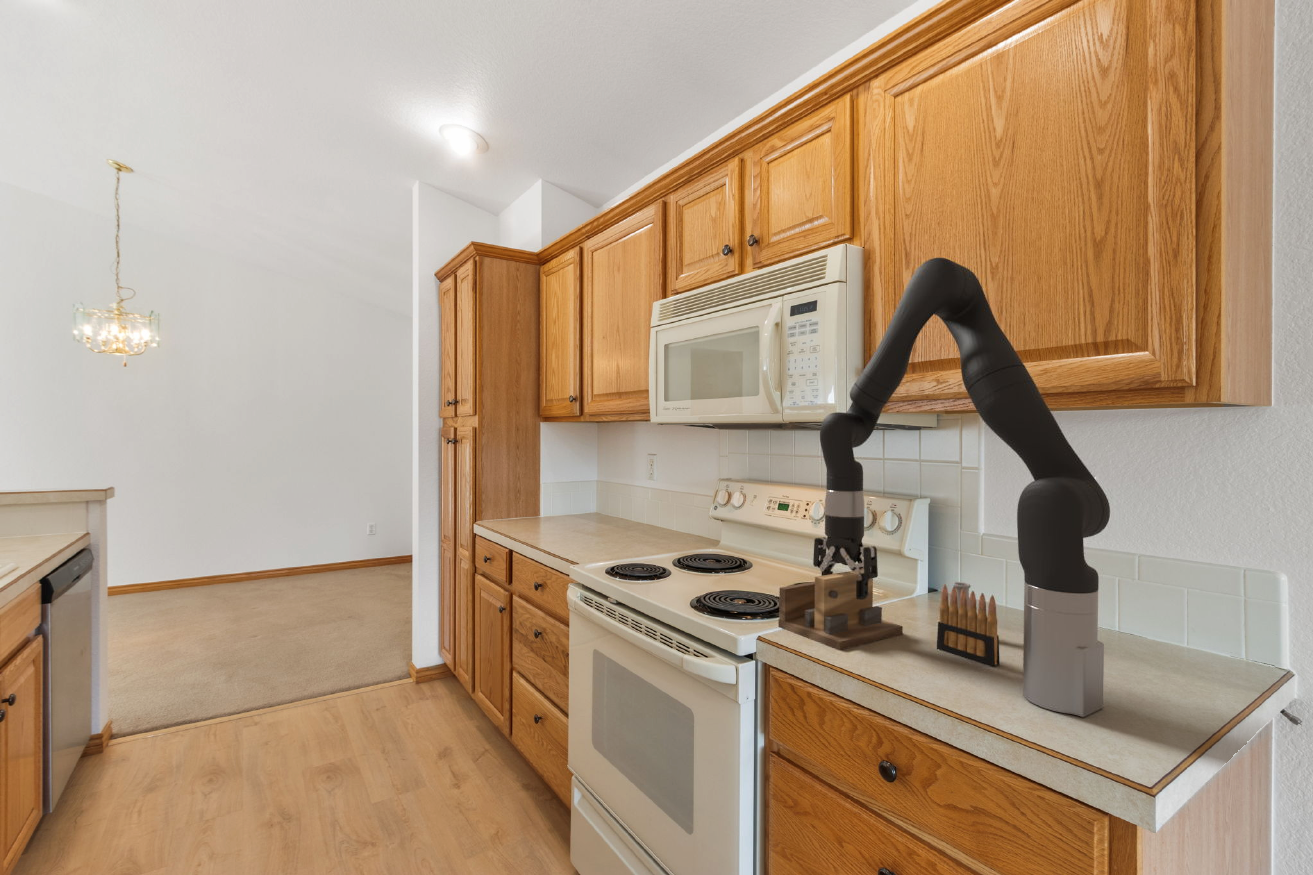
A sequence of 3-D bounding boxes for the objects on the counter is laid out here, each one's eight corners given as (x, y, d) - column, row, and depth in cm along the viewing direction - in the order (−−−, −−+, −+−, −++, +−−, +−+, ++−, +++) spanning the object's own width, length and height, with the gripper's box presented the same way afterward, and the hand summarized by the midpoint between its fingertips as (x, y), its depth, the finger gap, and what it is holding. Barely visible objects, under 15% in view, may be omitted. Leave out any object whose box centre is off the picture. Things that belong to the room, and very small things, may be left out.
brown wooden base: (902, 633, 124) (903, 593, 124) (839, 650, 114) (839, 606, 114) (839, 613, 137) (839, 576, 137) (778, 626, 128) (778, 587, 128)
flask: (977, 642, 119) (978, 590, 119) (936, 635, 123) (937, 584, 123) (984, 633, 125) (985, 583, 124) (945, 626, 129) (946, 577, 129)
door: (876, 621, 126) (877, 572, 126) (827, 632, 119) (828, 580, 119) (862, 617, 129) (863, 568, 129) (814, 628, 122) (814, 576, 122)
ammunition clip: (999, 665, 107) (1000, 595, 107) (993, 667, 106) (994, 597, 106) (942, 647, 116) (943, 582, 116) (936, 648, 115) (937, 583, 115)
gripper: (886, 515, 120) (886, 599, 120) (830, 508, 132) (829, 584, 133) (860, 518, 116) (860, 605, 116) (804, 510, 128) (804, 589, 129)
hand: (843, 594), depth 125 cm, fingers open, 8 cm apart
